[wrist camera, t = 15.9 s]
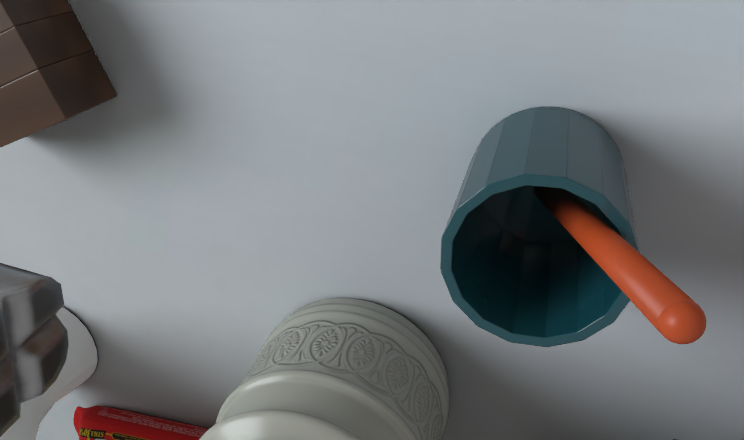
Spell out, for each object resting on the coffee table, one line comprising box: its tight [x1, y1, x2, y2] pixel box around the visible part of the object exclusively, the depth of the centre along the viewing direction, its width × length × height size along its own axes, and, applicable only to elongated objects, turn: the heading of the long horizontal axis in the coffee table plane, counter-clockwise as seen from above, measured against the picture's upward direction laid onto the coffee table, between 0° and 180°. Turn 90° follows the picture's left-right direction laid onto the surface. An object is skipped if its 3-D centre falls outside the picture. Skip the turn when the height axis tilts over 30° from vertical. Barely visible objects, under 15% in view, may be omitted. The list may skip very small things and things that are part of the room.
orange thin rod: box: [534, 186, 706, 344], centre depth 30 cm, size 1×1×18 cm
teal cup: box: [441, 107, 640, 347], centre depth 34 cm, size 8×8×10 cm
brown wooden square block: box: [0, 0, 117, 147], centre depth 42 cm, size 8×8×5 cm
